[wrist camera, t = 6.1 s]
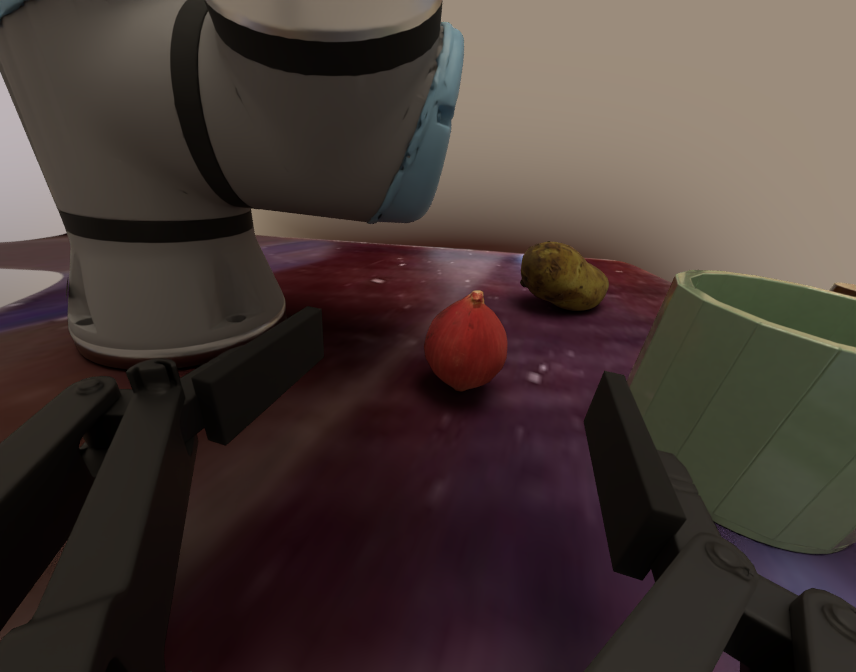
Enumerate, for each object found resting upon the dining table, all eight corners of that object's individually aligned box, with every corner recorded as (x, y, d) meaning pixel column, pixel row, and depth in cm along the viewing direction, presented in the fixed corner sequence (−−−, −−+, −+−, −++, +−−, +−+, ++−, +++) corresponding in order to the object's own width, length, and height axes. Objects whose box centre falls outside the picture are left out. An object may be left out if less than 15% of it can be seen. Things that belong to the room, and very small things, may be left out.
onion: (405, 390, 25) (413, 288, 21) (445, 359, 29) (458, 270, 26) (475, 426, 22) (499, 316, 19) (507, 386, 27) (532, 291, 23)
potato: (624, 323, 41) (652, 257, 37) (522, 317, 39) (539, 248, 35) (590, 297, 48) (610, 239, 44) (502, 291, 46) (515, 231, 43)
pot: (576, 401, 26) (628, 268, 21) (700, 389, 29) (770, 271, 24) (748, 580, 15) (934, 396, 10) (911, 529, 19) (1111, 371, 14)
